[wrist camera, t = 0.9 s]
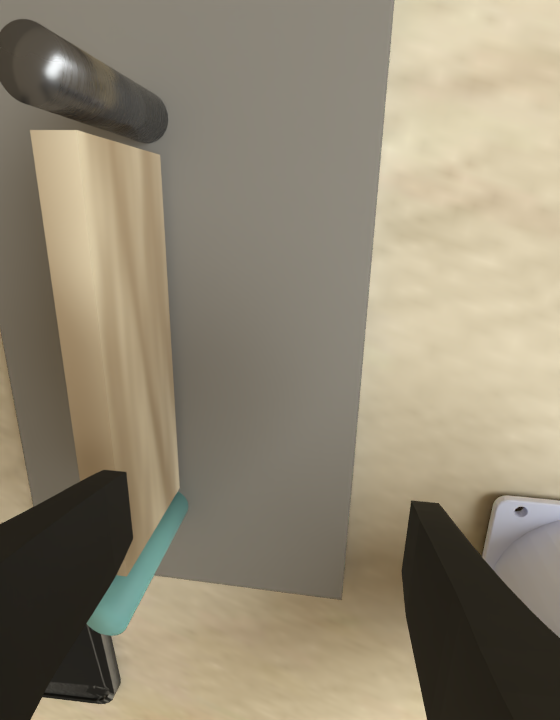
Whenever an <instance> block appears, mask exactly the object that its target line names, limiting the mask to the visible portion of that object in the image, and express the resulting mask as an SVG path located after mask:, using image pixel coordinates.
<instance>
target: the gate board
mask: <svg viewBox="0 0 560 720" xmlns="http://www.w3.org/2000/svg"><path fill="white" fill-rule="evenodd" d="M393 10H394V0H0V31H1V30H2V29H3V28H4V27H5V26H6V25H7V24H8V23H10V22H12V21H14V20H17V19H28V20H32V21H35V22H37V23H39V24H41V25H42V26H44V27H45V28H47V29H49V30H50V31H52V32H54V33H55V34H57V35H59V36H60V37H62V38H64V39H65V40H67V41H68V42H70V43H72V44H73V45H75V46H77V47H78V48H80V49H82V50H83V51H85V52H87V53H88V54H90V55H91V56H93V57H95V58H96V59H98V60H100V61H101V62H103V63H105V64H106V65H108V66H110V67H111V68H113V69H114V70H116V71H118V72H119V73H121V74H123V75H124V76H126V77H128V78H129V79H131V80H133V81H134V82H136V83H137V84H139V85H141V86H142V87H144V88H146V89H147V90H149V91H151V92H152V93H154V94H156V95H157V96H158V97H159V98H160V99H161V100H162V101H163V103H164V105H165V107H166V109H167V113H168V125H167V129H166V131H165V133H164V135H163V136H162V137H161V138H160V139H159V140H158V141H156V142H153V143H142V142H138V141H135V140H132V139H129V138H126V137H123V136H120V135H117V134H114V133H111V132H108V131H105V130H102V129H99V128H96V127H93V126H90V125H87V124H84V123H81V122H78V121H75V120H72V119H69V118H66V117H63V116H60V115H57V114H54V113H51V112H48V111H45V110H42V109H39V108H36V107H33V106H30V105H27V104H24V103H21V102H19V101H18V100H16V99H15V98H13V97H12V96H11V95H10V94H9V93H8V92H7V91H6V90H5V88H4V87H3V85H2V84H1V82H0V329H1V335H2V340H3V345H4V351H5V356H6V362H7V367H8V372H9V378H10V383H11V388H12V394H13V399H14V405H15V410H16V415H17V421H18V426H19V431H20V437H21V442H22V448H23V453H24V458H25V464H26V469H27V474H28V480H29V485H30V490H31V496H32V501H33V507H34V506H36V505H38V504H40V503H42V502H43V501H45V500H47V499H49V498H51V497H53V496H54V495H56V494H58V493H60V492H62V491H63V490H65V489H67V488H69V487H71V486H73V485H74V484H76V483H78V482H80V477H79V470H78V463H77V456H76V449H75V442H74V435H73V428H72V421H71V414H70V407H69V400H68V393H67V386H66V379H65V372H64V365H63V358H62V351H61V344H60V337H59V330H58V323H57V316H56V309H55V302H54V295H53V288H52V281H51V274H50V267H49V260H48V253H47V246H46V239H45V232H44V225H43V218H42V211H41V204H40V197H39V190H38V183H37V176H36V169H35V162H34V155H33V148H32V141H31V134H30V130H78V131H82V132H85V133H88V134H92V135H95V136H98V137H102V138H105V139H109V140H112V141H115V142H119V143H122V144H125V145H129V146H132V147H135V148H139V149H142V150H145V151H149V152H152V153H156V154H159V155H160V160H161V177H162V195H163V212H164V229H165V246H166V263H167V280H168V297H169V314H170V331H171V348H172V365H173V382H174V399H175V416H176V433H177V450H178V467H179V484H180V488H179V490H178V492H180V493H181V494H182V495H184V497H185V498H186V500H187V502H188V511H187V513H186V515H185V517H184V519H183V521H182V523H181V524H180V526H179V528H178V530H177V532H176V534H175V536H174V538H173V540H172V542H171V544H170V545H169V547H168V549H167V551H166V553H165V555H164V557H163V559H162V561H161V563H160V565H159V566H158V568H157V570H156V572H155V574H154V575H155V576H163V577H171V578H178V579H186V580H193V581H201V582H209V583H216V584H224V585H231V586H239V587H247V588H254V589H262V590H269V591H277V592H285V593H292V594H300V595H307V596H315V597H323V598H330V599H338V600H342V592H343V580H344V569H345V558H346V546H347V535H348V523H349V512H350V500H351V489H352V478H353V466H354V455H355V443H356V432H357V421H358V409H359V398H360V386H361V375H362V364H363V352H364V341H365V329H366V318H367V307H368V295H369V284H370V272H371V261H372V250H373V238H374V227H375V215H376V204H377V193H378V181H379V170H380V158H381V147H382V136H383V124H384V113H385V101H386V90H387V79H388V67H389V56H390V44H391V33H392V21H393Z"/></svg>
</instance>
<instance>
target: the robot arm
mask: <svg viewBox="0 0 560 720" xmlns="http://www.w3.org/2000/svg"><path fill="white" fill-rule="evenodd" d="M518 507H524V508H523V509H522V510H521V511H515V509H516V508H518ZM132 540H133V530H132V521H131V511H130V502H129V492H128V482H127V473H126V472H122V471H112V470H102V471H100V472H98V473H95V474H93V475H91V476H89V477H87V478H86V479H84V480H82V481H80V482H78V483H76V484H74V485H73V486H71V487H69V488H67V489H65V490H63V491H62V492H60V493H58V494H56V495H54V496H53V497H51V498H49V499H47V500H45V501H43V502H42V503H40V504H38V505H36V506H34V507H32V508H31V509H29V510H27V511H25V512H23V513H21V514H19V515H17V516H15V517H13V518H11V519H9V520H8V521H6V522H4V523H2V524H0V720H30V719H31V717H32V715H33V714H34V712H35V710H36V708H37V706H38V704H39V702H40V700H41V698H42V696H43V694H44V692H45V690H46V688H47V687H48V685H49V683H50V682H51V680H52V678H53V676H54V675H55V673H56V671H57V670H58V668H59V666H60V665H61V663H62V661H63V660H64V658H65V657H66V655H67V654H68V652H69V650H70V649H71V647H72V646H73V644H74V642H75V641H76V639H77V638H78V636H79V635H80V633H81V631H82V630H83V628H84V627H85V625H86V624H87V622H88V620H89V619H90V617H91V616H92V614H93V612H94V611H95V609H96V608H97V606H98V605H99V603H100V601H101V600H102V598H103V596H104V595H105V593H106V592H107V590H108V588H109V587H110V585H111V584H112V582H113V580H114V579H115V577H116V575H117V573H118V571H119V569H120V567H121V565H122V563H123V560H124V558H125V556H126V554H127V552H128V549H129V547H130V545H131V543H132ZM402 579H403V591H404V602H405V612H406V618H407V624H408V629H409V634H410V639H411V643H412V648H413V653H414V658H415V663H416V668H417V673H418V677H419V682H420V687H421V692H422V697H423V702H424V706H425V711H426V716H427V720H560V500H550V499H539V498H529V497H519V496H509V495H506V496H501V497H498V498H497V499H496V500H495V501H494V503H493V507H492V512H491V517H490V521H489V526H488V531H487V536H486V540H485V545H484V550H483V554H482V556H481V555H480V554H479V553H478V552H477V550H476V549H475V548H474V547H473V546H472V544H471V543H470V542H469V541H468V539H467V538H466V537H465V536H464V534H463V533H462V532H461V531H460V529H459V528H458V527H457V526H456V524H455V523H454V522H453V521H452V519H451V518H450V517H449V515H448V514H447V513H446V512H445V510H444V509H443V508H442V507H441V506H440V504H439V503H430V502H420V501H411V507H410V515H409V522H408V529H407V536H406V544H405V551H404V558H403V566H402Z"/></svg>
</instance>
